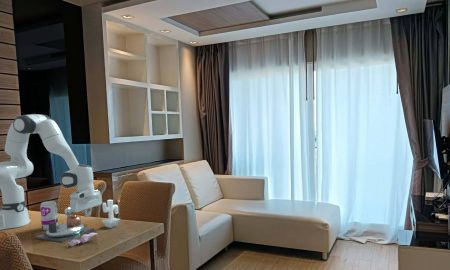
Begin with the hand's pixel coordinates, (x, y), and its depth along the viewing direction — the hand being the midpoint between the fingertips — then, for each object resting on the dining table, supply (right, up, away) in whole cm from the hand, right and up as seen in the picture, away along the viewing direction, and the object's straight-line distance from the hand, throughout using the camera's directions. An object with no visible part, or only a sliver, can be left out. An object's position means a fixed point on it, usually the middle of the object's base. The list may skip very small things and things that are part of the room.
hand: (87, 216), depth 190 cm
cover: (-4, -3, -8) cm, 10 cm away
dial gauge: (-9, -5, -3) cm, 11 cm away
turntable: (-6, -5, -13) cm, 16 cm away
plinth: (-6, -6, -13) cm, 16 cm away
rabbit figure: (+10, -6, -30) cm, 32 cm away
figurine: (+15, -5, -3) cm, 16 cm away
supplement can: (-21, -7, -1) cm, 22 cm away
